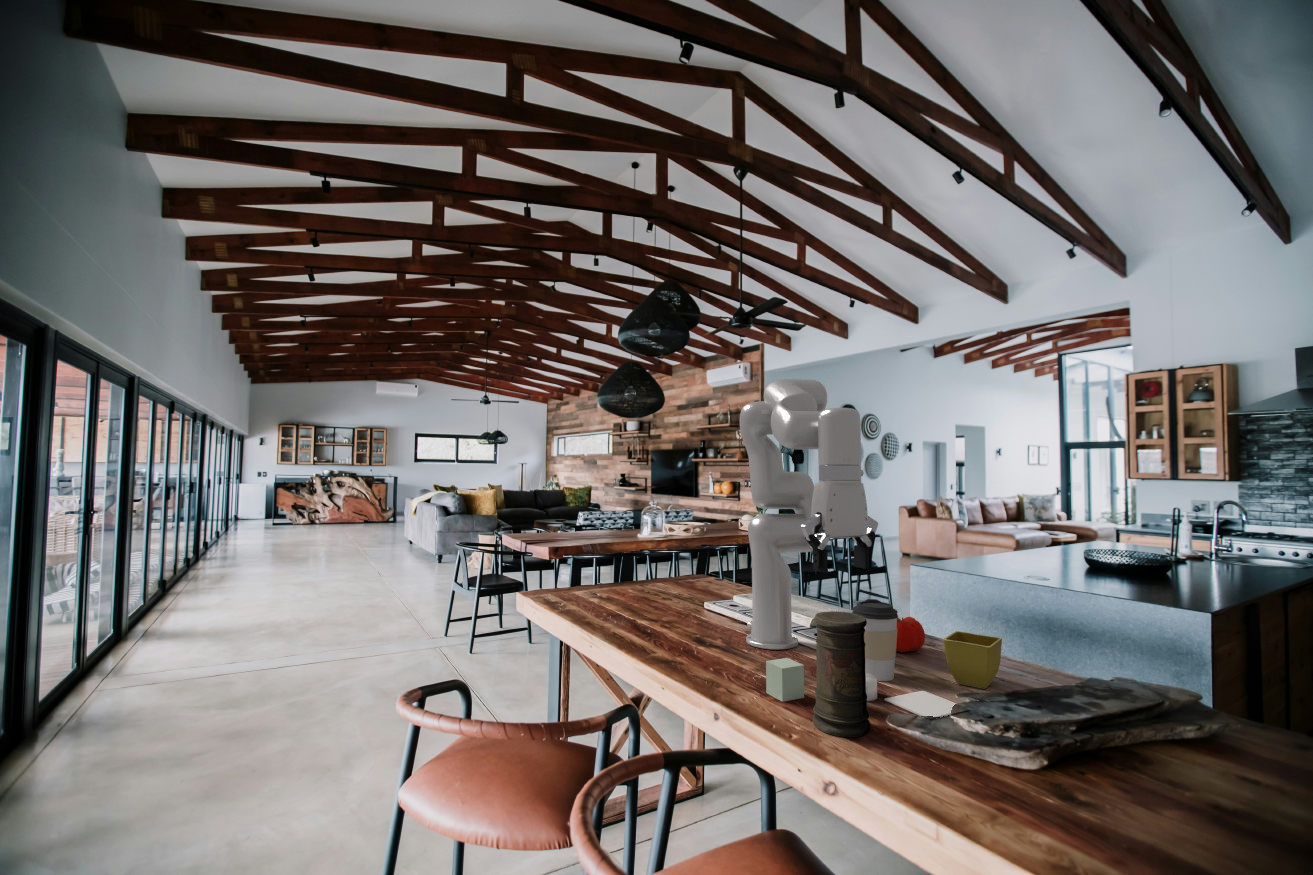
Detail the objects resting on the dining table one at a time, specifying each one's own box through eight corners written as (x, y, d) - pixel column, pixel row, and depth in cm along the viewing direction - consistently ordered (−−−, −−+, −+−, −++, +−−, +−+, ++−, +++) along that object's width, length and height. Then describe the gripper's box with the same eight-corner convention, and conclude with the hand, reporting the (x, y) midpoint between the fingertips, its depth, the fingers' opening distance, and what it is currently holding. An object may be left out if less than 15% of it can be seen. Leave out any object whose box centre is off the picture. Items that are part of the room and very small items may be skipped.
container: (802, 720, 103) (801, 612, 104) (844, 712, 107) (843, 608, 108) (837, 742, 95) (836, 624, 96) (882, 732, 99) (880, 619, 100)
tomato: (877, 650, 145) (876, 618, 145) (890, 642, 151) (890, 611, 152) (918, 658, 139) (917, 624, 139) (930, 649, 145) (929, 617, 146)
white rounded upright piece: (837, 692, 117) (836, 674, 117) (860, 688, 119) (860, 669, 120) (860, 703, 111) (859, 683, 112) (884, 698, 114) (883, 679, 114)
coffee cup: (903, 684, 121) (901, 607, 122) (855, 681, 123) (854, 605, 124) (895, 670, 130) (893, 598, 131) (850, 667, 132) (849, 596, 133)
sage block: (766, 692, 116) (766, 660, 117) (787, 689, 119) (787, 657, 119) (782, 701, 112) (782, 668, 112) (804, 697, 114) (803, 664, 114)
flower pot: (943, 684, 121) (942, 638, 122) (957, 673, 128) (956, 630, 128) (992, 695, 115) (990, 646, 116) (1004, 683, 122) (1002, 637, 122)
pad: (884, 700, 113) (884, 698, 113) (923, 691, 117) (923, 690, 117) (929, 719, 104) (929, 718, 104) (969, 710, 108) (969, 708, 108)
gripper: (860, 475, 119) (862, 563, 118) (789, 475, 112) (789, 569, 111) (890, 475, 112) (892, 569, 111) (816, 475, 105) (817, 575, 104)
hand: (841, 569), depth 111 cm, fingers open, 9 cm apart
